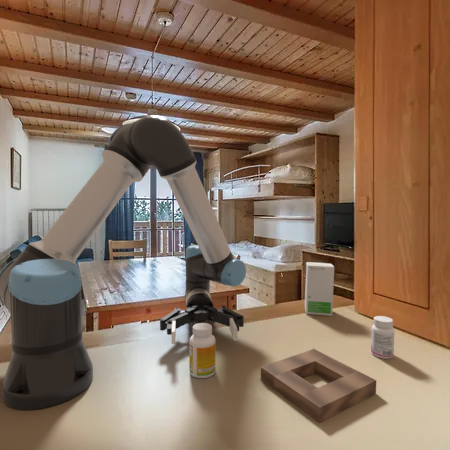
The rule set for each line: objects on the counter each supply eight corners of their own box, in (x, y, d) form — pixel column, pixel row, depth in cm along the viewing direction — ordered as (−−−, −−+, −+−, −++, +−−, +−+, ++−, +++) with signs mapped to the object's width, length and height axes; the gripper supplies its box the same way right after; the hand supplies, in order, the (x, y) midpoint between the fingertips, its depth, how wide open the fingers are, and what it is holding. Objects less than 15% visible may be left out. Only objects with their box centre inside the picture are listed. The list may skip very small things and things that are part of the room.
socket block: (319, 422, 52) (319, 407, 51) (260, 379, 64) (260, 366, 64) (375, 393, 60) (376, 380, 59) (313, 359, 72) (313, 348, 72)
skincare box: (305, 314, 101) (306, 265, 100) (304, 307, 108) (305, 261, 107) (333, 316, 100) (334, 266, 99) (330, 309, 106) (331, 262, 105)
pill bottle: (374, 347, 78) (375, 313, 78) (395, 353, 75) (397, 318, 75) (368, 355, 75) (369, 319, 74) (390, 361, 72) (392, 324, 71)
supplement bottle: (220, 370, 68) (220, 324, 67) (205, 382, 63) (205, 333, 63) (199, 363, 71) (199, 319, 70) (184, 374, 66) (183, 327, 65)
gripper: (242, 316, 94) (260, 349, 73) (154, 320, 90) (146, 356, 69) (242, 290, 93) (260, 316, 72) (154, 293, 90) (146, 321, 69)
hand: (204, 336), depth 71 cm, fingers open, 13 cm apart
